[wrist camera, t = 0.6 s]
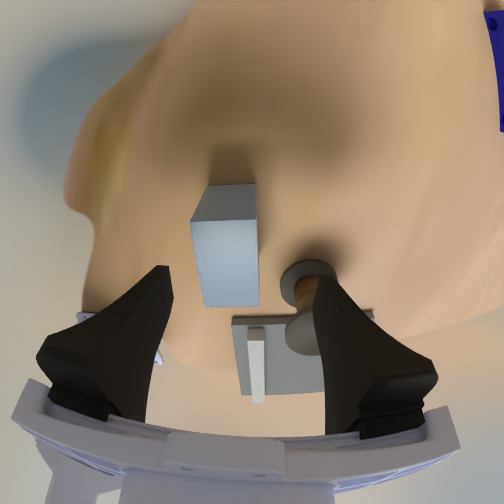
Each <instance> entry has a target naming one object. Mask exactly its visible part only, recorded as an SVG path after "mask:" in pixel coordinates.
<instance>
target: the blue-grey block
mask: <svg viewBox="0 0 504 504" xmlns="http://www.w3.org/2000/svg"><path fill="white" fill-rule="evenodd" d="M190 228H191V234H192V240H193V246H194V252H195V258H196V263H197V269H198V274H199V279H200V285H201V290H202V295H203V300H204V305H205V307H253V306H259V241H258V212H257V184H235V185H215V186H207V188H206V190H205V192H204V194H203V196H202V198H201V200H200V202H199V204H198V206H197V208H196V210H195V212H194V214H193V216H192V218H191V220H190Z"/></svg>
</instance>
